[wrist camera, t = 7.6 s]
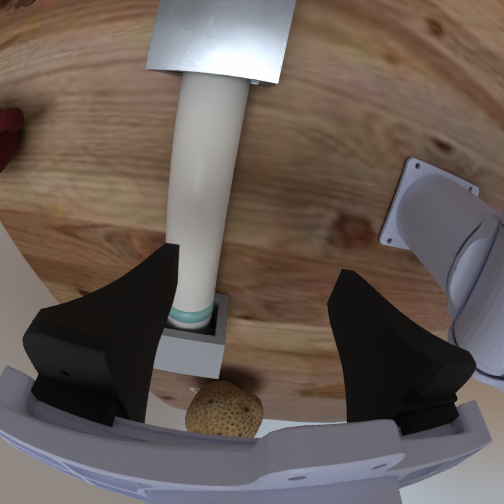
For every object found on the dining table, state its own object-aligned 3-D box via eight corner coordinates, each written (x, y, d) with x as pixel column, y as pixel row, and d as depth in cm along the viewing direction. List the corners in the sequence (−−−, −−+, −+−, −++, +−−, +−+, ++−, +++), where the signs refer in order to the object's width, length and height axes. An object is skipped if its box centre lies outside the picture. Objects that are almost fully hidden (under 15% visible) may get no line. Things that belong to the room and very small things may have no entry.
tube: (197, 38, 14) (183, 25, 11) (259, 46, 15) (262, 33, 11) (169, 309, 26) (160, 341, 23) (212, 316, 26) (207, 349, 23)
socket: (159, 283, 26) (141, 331, 20) (228, 294, 26) (224, 345, 21) (160, 320, 28) (146, 366, 23) (222, 330, 29) (218, 379, 24)
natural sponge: (256, 359, 31) (258, 436, 23) (266, 395, 36) (269, 459, 27) (182, 365, 32) (170, 437, 24) (203, 399, 37) (198, 460, 28)
